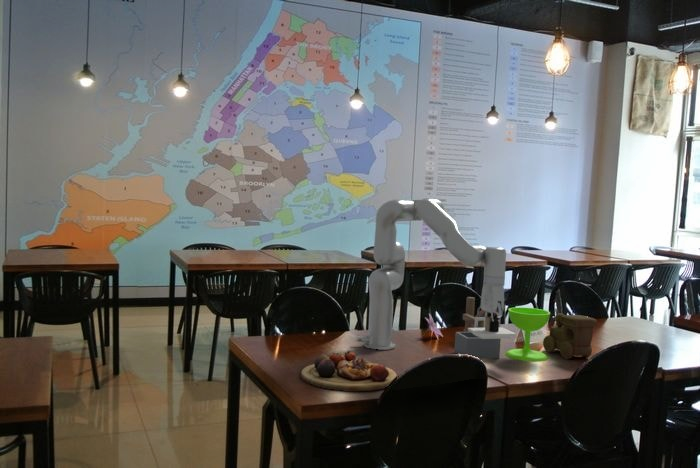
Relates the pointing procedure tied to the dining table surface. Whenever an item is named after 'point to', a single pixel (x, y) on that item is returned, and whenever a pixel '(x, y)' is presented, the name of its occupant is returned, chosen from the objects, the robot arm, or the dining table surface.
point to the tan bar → (472, 320)
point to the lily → (433, 327)
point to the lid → (486, 333)
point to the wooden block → (471, 312)
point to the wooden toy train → (571, 336)
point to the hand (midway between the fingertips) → (491, 330)
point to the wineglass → (528, 331)
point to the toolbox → (477, 344)
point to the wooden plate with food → (347, 373)
